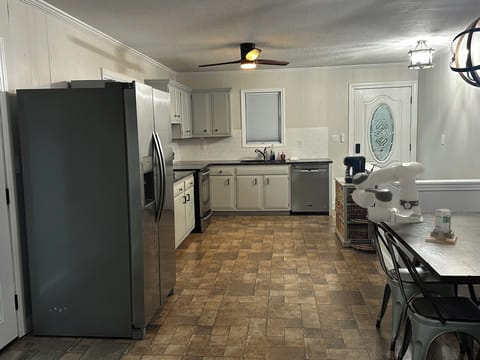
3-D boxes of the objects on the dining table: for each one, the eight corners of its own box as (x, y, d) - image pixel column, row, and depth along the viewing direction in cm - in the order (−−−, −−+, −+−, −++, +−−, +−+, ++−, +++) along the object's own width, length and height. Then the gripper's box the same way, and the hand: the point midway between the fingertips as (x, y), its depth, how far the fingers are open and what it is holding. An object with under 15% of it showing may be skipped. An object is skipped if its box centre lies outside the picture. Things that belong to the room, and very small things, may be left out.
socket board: (429, 234, 244) (430, 224, 243) (456, 237, 237) (457, 227, 236) (425, 241, 229) (425, 231, 228) (454, 244, 222) (454, 234, 221)
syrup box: (441, 236, 232) (442, 210, 231) (434, 234, 238) (435, 208, 236) (450, 235, 234) (451, 210, 232) (442, 233, 240) (443, 208, 238)
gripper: (397, 217, 257) (422, 219, 250) (391, 224, 240) (417, 226, 233) (398, 207, 256) (422, 209, 249) (391, 213, 239) (417, 215, 232)
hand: (419, 217), depth 241 cm, fingers open, 8 cm apart
